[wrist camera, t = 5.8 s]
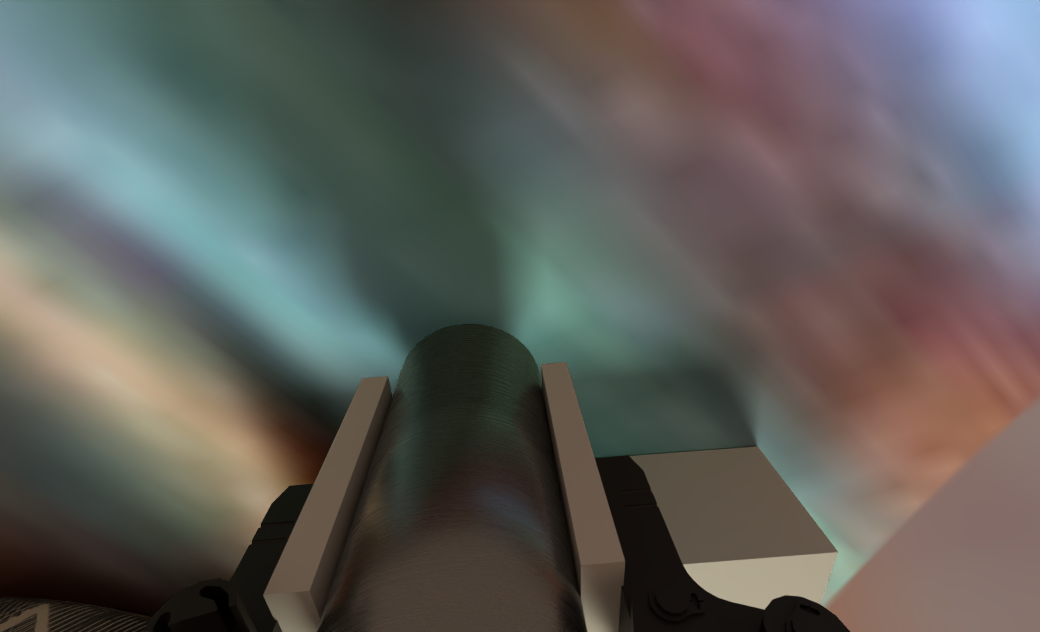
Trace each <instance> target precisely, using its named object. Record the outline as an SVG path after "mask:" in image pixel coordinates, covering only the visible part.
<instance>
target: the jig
mask: <svg viewBox="0 0 1040 632" xmlns="http://www.w3.org/2000/svg"><path fill="white" fill-rule="evenodd" d="M629 457H630V458H632V459H633V460H634V461H635V462H636V463H637V464H638V465H639V466H640V467H641V468H642V469H643V471H644V473H645V475H646V478H647V480H648V483H649V485H650V487H651V492H653V495H654V497H655V499H656V502H657V506H658V507H659V509H660V511H661V514H662V516H663V518H664V521H665V523H666V526H667V528H668V530H669V533H670V535H671V538H672V540H673V542H674V545H675V547H676V550H677V552H678V554H679V557H680V559H681V561H682V564H683V566H684V567H685V569H686V571H687V573H688V574H689V575H690V576H691V578H692V579H693V580H694V581H695V582H696V583H697V584H698V585H699V586H701V587H702V588H703V589H704V590H706V591H707V592H709V593H711V594H713V595H714V596H716V597H718V598H721V599H724V600H727V601H730V602H734V603H738V604H743V605H747V606H751V607H756V608H760V609H764V610H765V608H766V607H767V606H768V605H769V603H770V602H771V601H772V599H775V598H778V597H781V596H784V595H789V596H801V597H804V598H806V599H809V600H811V601H814V602H816V603H819V604H821V601H822V598H823V595H824V592H825V589H826V586H827V583H828V580H829V578H830V575H831V572H832V569H833V566H834V563H835V560H836V557H837V554H838V551H837V550H836V549H835V547H834V546H833V545H832V543H831V542H830V541H829V539H828V538H827V537H826V535H825V534H824V533H823V531H822V530H821V529H820V528H819V526H818V525H817V524H816V522H815V521H814V520H813V518H812V517H811V516H810V514H809V513H808V512H807V511H806V509H805V508H804V507H803V505H802V504H801V503H800V501H799V500H798V499H797V497H796V496H795V495H794V494H793V492H792V491H791V490H790V488H789V487H788V486H787V484H786V483H785V482H784V480H783V479H782V478H781V476H780V475H779V474H778V473H777V471H776V470H775V469H774V467H773V466H772V465H771V463H770V462H769V461H768V459H767V458H766V457H765V456H764V454H763V453H762V452H761V450H760V449H759V448H758V447H744V448H731V449H717V450H704V451H690V452H677V453H664V454H650V455H637V456H629Z"/></svg>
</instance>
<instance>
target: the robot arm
mask: <svg viewBox="0 0 1040 632" xmlns="http://www.w3.org/2000/svg"><path fill="white" fill-rule="evenodd" d="M541 375H542V392H543V398H544V403H545V408H546V414H547V419H548V425H549V430H550V436H551V441H552V446H553V452H554V457H555V463H556V468H557V474H558V479H559V484H560V490H561V495H562V501H563V506H564V512H565V517H566V522H567V528H568V533H569V539H570V544H571V549H572V555H573V560H574V566H575V571H576V577H577V582H578V587H579V593H580V598H581V602H582V605H583V611H584V616H585V621H586V627H587V632H850V631H849V630H848V629H847V628H846V627H845V626H844V624H843V623H842V622H841V621H840V620H839V619H838V618H837V616H836V615H834V614H833V613H831V612H830V611H829V610H827V609H826V608H824V607H823V606H822V605H820V604H819V603H816V602H814V601H811V600H809V599H806V598H804V597H801V596H789V595H784V596H781V597H778V598H775V599H772V601H771V602H770V603H769V605H768V606H767V607H766V608H765V610H764V609H760V608H756V607H751V606H747V605H743V604H738V603H734V602H730V601H727V600H724V599H721V598H718V597H716V596H714V595H713V594H711V593H709V592H707V591H706V590H704V589H703V588H702V587H701V586H699V585H698V584H697V583H696V582H695V581H694V580H693V579H692V578H691V576H690V575H689V574H688V573H687V571H686V569H685V567H684V566H683V564H682V561H681V559H680V557H679V554H678V552H677V550H676V547H675V545H674V542H673V540H672V538H671V535H670V533H669V530H668V528H667V526H666V523H665V521H664V518H663V516H662V514H661V511H660V509H659V507H658V506H657V502H656V499H655V497H654V495H653V492H651V487H650V485H649V483H648V480H647V478H646V475H645V473H644V471H643V469H642V468H641V467H640V466H639V465H638V464H637V463H636V462H635V461H634V460H633V459H632V458H630V457H629V456H617V457H605V458H594V454H593V451H592V447H591V444H590V441H589V437H588V434H587V431H586V427H585V424H584V420H583V417H582V414H581V410H580V407H579V404H578V400H577V397H576V393H575V390H574V387H573V383H572V380H571V377H570V373H569V370H568V366H567V363H566V362H563V363H551V364H541ZM391 401H392V393H391V389H390V384H389V379H388V376H385V377H372V378H362V380H361V382H360V384H359V386H358V388H357V391H356V393H355V395H354V397H353V399H352V401H351V404H350V406H349V408H348V410H347V412H346V415H345V417H344V419H343V421H342V423H341V426H340V428H339V430H338V432H337V434H336V437H335V439H334V441H333V443H332V445H331V447H330V450H329V452H328V454H327V456H326V458H325V461H324V463H323V465H322V467H321V469H320V472H319V474H318V476H317V478H316V480H315V483H314V484H306V485H294V486H289V487H288V488H287V489H286V490H285V491H284V492H283V493H282V494H281V495H280V496H279V497H278V498H277V499H276V500H275V501H274V502H273V503H272V504H271V506H270V508H269V510H268V512H267V513H266V515H265V517H264V519H263V521H262V523H261V528H258V530H257V532H256V534H255V536H254V538H253V539H252V544H251V545H249V547H248V549H247V551H246V552H245V554H244V556H243V558H242V560H241V562H240V564H239V565H238V567H237V569H236V571H235V573H234V575H233V577H232V578H231V580H230V582H229V581H226V580H222V579H213V580H204V581H202V582H199V583H197V584H195V585H192V586H190V587H187V588H185V589H184V590H183V591H181V592H180V593H178V594H177V595H175V596H174V597H172V598H171V599H169V600H168V601H167V602H166V603H165V604H164V605H163V606H162V607H161V608H160V609H159V610H158V611H157V612H156V613H155V614H154V615H153V617H152V619H151V620H150V622H149V623H148V625H147V627H146V628H145V630H144V631H143V632H317V629H318V626H319V623H320V620H321V617H322V614H323V611H324V608H325V604H326V601H327V598H328V595H329V592H330V589H331V586H332V583H333V580H334V577H335V574H336V571H337V567H338V564H339V561H340V558H341V555H342V552H343V549H344V546H345V543H346V540H347V537H348V534H349V530H350V527H351V524H352V521H353V518H354V515H355V512H356V509H357V506H358V503H359V500H360V497H361V493H362V490H363V487H364V484H365V481H366V478H367V475H368V472H369V469H370V466H371V463H372V460H373V457H374V453H375V450H376V447H377V444H378V441H379V438H380V435H381V432H382V429H383V426H384V423H385V420H386V416H387V413H388V410H389V407H390V404H391Z"/></svg>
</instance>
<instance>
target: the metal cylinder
mask: <svg viewBox="0 0 1040 632" xmlns="http://www.w3.org/2000/svg"><path fill="white" fill-rule="evenodd" d="M317 632H587V627H586V621H585V616H584V611H583V605H582V602H581V598H580V593H579V587H578V582H577V577H576V571H575V566H574V560H573V555H572V549H571V544H570V539H569V533H568V528H567V522H566V517H565V512H564V506H563V501H562V495H561V490H560V484H559V479H558V474H557V468H556V463H555V457H554V452H553V446H552V441H551V436H550V430H549V425H548V419H547V414H546V408H545V403H544V398H543V392H542V385H541V379H540V374H539V370H538V367H537V364H536V362H535V360H534V358H533V356H532V355H531V353H530V352H529V350H528V349H527V348H526V347H525V346H524V345H523V344H522V343H521V342H520V341H519V340H517V339H516V338H515V337H513V336H512V335H510V334H508V333H506V332H504V331H502V330H499V329H497V328H494V327H490V326H486V325H479V324H461V325H454V326H450V327H446V328H443V329H440V330H438V331H435V332H434V333H432V334H430V335H428V336H427V337H425V338H424V339H423V340H421V341H420V342H419V343H418V344H417V345H416V346H415V347H414V348H413V349H412V351H411V352H410V353H409V355H408V356H407V358H406V360H405V362H404V365H403V367H402V370H401V373H400V376H399V379H398V383H397V386H396V389H395V392H394V395H393V398H392V401H391V404H390V407H389V410H388V413H387V416H386V420H385V423H384V426H383V429H382V432H381V435H380V438H379V441H378V444H377V447H376V450H375V453H374V457H373V460H372V463H371V466H370V469H369V472H368V475H367V478H366V481H365V484H364V487H363V490H362V493H361V497H360V500H359V503H358V506H357V509H356V512H355V515H354V518H353V521H352V524H351V527H350V530H349V534H348V537H347V540H346V543H345V546H344V549H343V552H342V555H341V558H340V561H339V564H338V567H337V571H336V574H335V577H334V580H333V583H332V586H331V589H330V592H329V595H328V598H327V601H326V604H325V608H324V611H323V614H322V617H321V620H320V623H319V626H318V629H317Z"/></svg>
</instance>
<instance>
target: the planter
mask: <svg viewBox="0 0 1040 632" xmlns="http://www.w3.org/2000/svg"><path fill="white" fill-rule="evenodd" d="M151 619H152V617H150V616H145V615H141V614H136V613H131V612H125V611H120V610H116V609H111V608H106V607H100V606H95V605H89V604H82V603H75V602H68V601H59V600H49V599H38V598H20V597H0V632H143V631H144V630H145V628H146V627H147V625H148V623H149V622H150V620H151Z"/></svg>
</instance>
